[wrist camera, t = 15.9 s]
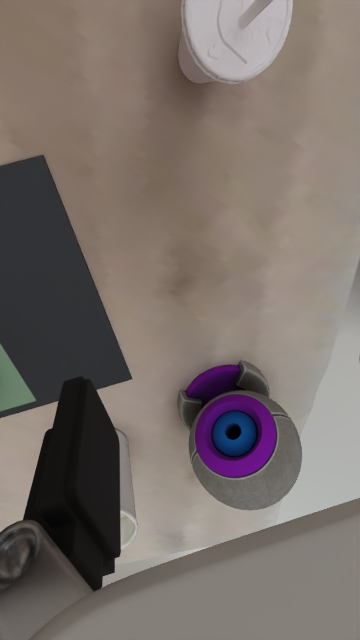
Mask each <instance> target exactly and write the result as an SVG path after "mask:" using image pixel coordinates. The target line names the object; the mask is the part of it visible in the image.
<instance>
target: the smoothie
mask: <svg viewBox="0 0 360 640" xmlns="http://www.w3.org/2000/svg"><path fill="white" fill-rule="evenodd" d="M292 6H293V0H182V5H181V19H182V32H181V38H180V43H179V49H178V60H179V65H180V68H181V70H182V72H183V74H184V75H185V76H186V77H187V78H188V79H189V80H190V81H192V82H194V83H199V84H201V83H208V82H214V81H218V82H222V83H227V84H236V83H243V82H245V81H248V80H250V79H252V78H254V77H256V76H257V75H258V74H259V73H261V72H262V71H263V70H265V69H266V68H267V67H268V66H269V65H270V64H271V63H272V62H273V60H274V59H275V58H276V56H277V55H278V53H279V52H280V50H281V48H282V46H283V44H284V42H285V39H286V37H287V34H288V30H289V27H290V22H291V17H292Z"/></svg>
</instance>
